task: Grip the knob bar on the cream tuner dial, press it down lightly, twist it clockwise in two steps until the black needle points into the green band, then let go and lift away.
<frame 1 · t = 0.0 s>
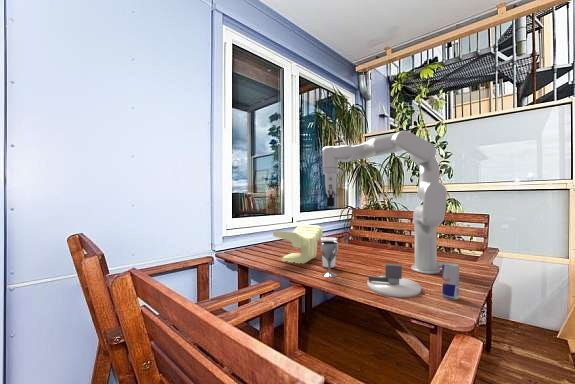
hand: (330, 205, 140), 31 cm above the table, fingers open, 9 cm apart
wine glass: (329, 275, 129), on the table
slatted curved stool: (299, 260, 156), on the table
tuner dial: (393, 287, 111), on the table
tuning knob: (384, 273, 112), point 6 cm above the table, hinge at 80.0°
energy drink: (450, 297, 101), on the table
cup: (328, 266, 142), on the table
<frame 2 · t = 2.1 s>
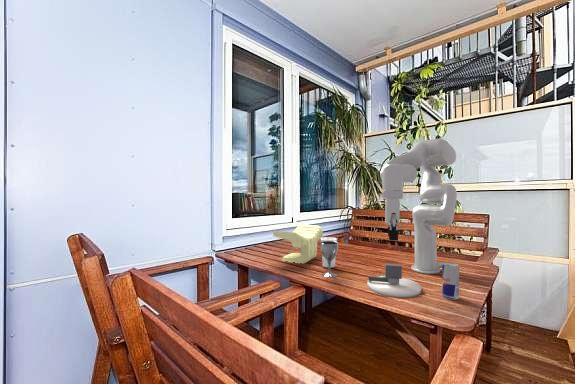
hand: (392, 238, 111), 20 cm above the table, fingers open, 9 cm apart
nothing on the table moved.
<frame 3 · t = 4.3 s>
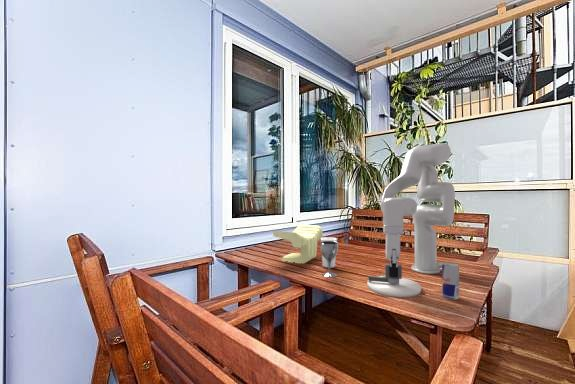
hand: (393, 275, 111), 5 cm above the table, fingers closed on tuning knob, 2 cm apart
tuning knob: (384, 273, 112), point 6 cm above the table, hinge at 80.0°, touching gripper
everything else where it was.
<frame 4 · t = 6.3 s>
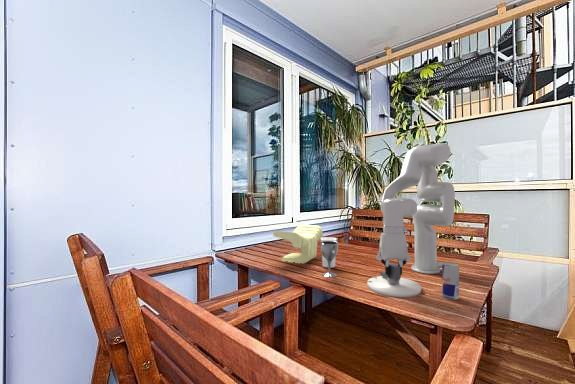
hand: (393, 275, 111), 5 cm above the table, fingers closed on tuning knob, 3 cm apart
tuning knob: (389, 271, 115), point 6 cm above the table, hinge at 16.3°, touching gripper
everything else where it was.
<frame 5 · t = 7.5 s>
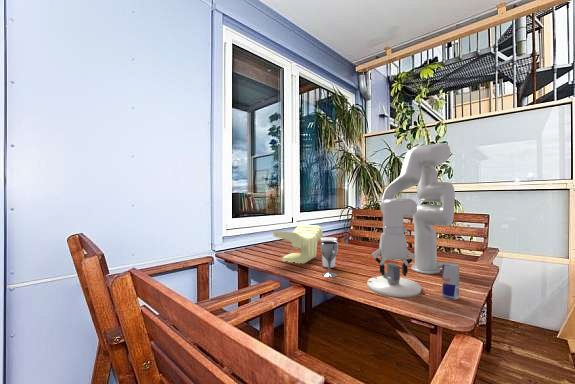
hand: (393, 274, 111), 5 cm above the table, fingers open, 7 cm apart
tuning knob: (389, 271, 115), point 6 cm above the table, hinge at 11.3°
everything else where it was.
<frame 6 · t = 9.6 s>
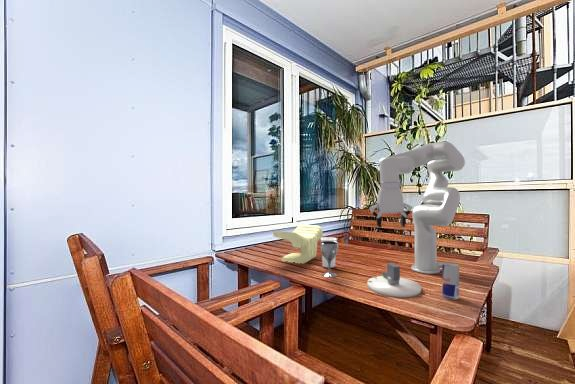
hand: (391, 226, 119), 23 cm above the table, fingers open, 9 cm apart
nothing on the table moved.
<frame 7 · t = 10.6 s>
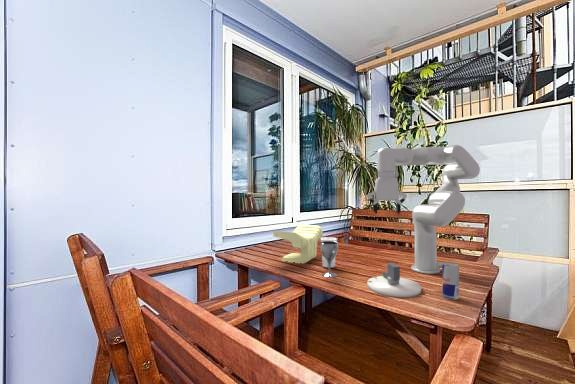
hand: (386, 213, 127), 28 cm above the table, fingers open, 9 cm apart
nothing on the table moved.
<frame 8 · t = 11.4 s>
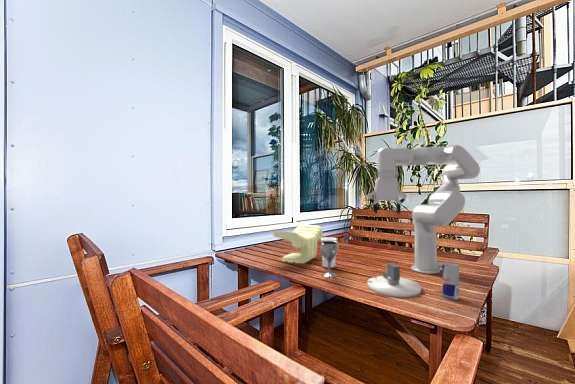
hand: (386, 213, 127), 28 cm above the table, fingers open, 9 cm apart
nothing on the table moved.
at the end: tuning knob at +11° (first picture: +80°); the gripper is holding nothing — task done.
